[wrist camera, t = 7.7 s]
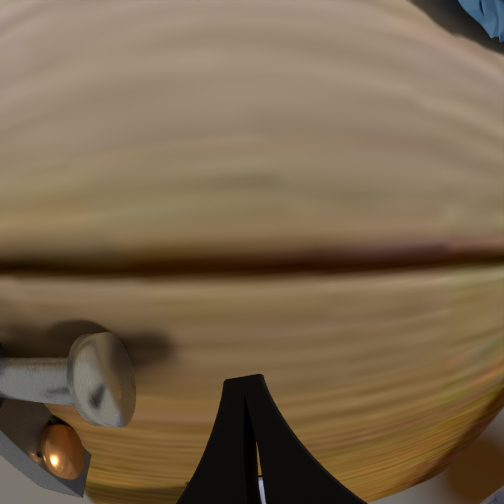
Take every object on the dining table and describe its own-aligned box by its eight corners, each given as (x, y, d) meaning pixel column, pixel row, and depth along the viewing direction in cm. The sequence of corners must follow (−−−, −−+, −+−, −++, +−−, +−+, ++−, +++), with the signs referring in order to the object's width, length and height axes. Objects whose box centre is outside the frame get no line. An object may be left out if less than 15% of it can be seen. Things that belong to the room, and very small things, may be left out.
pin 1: (108, 313, 12) (78, 381, 8) (141, 377, 14) (128, 444, 10) (-37, 328, 12) (-68, 367, 8) (-6, 376, 14) (-29, 417, 10)
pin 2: (59, 413, 15) (43, 460, 11) (88, 445, 17) (78, 488, 13) (-30, 398, 15) (-46, 429, 11) (-5, 427, 17) (-17, 457, 13)
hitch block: (91, 455, 18) (82, 497, 14) (51, 449, 18) (41, 487, 14) (-28, 292, 11) (-69, 337, 7) (-59, 299, 11) (-93, 337, 7)
